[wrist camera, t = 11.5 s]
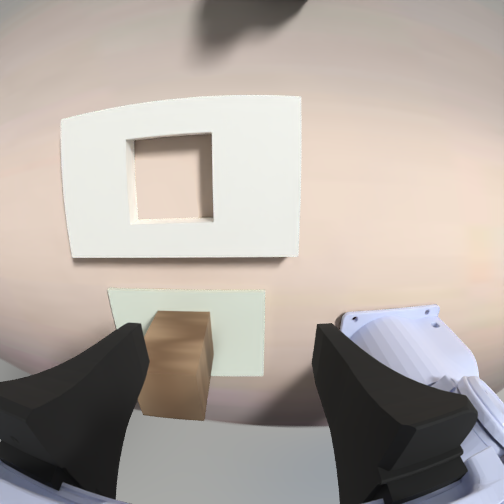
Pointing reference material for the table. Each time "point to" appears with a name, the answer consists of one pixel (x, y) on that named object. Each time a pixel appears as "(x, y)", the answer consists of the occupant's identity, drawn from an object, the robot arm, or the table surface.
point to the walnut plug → (178, 365)
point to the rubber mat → (222, 321)
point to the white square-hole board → (223, 171)
